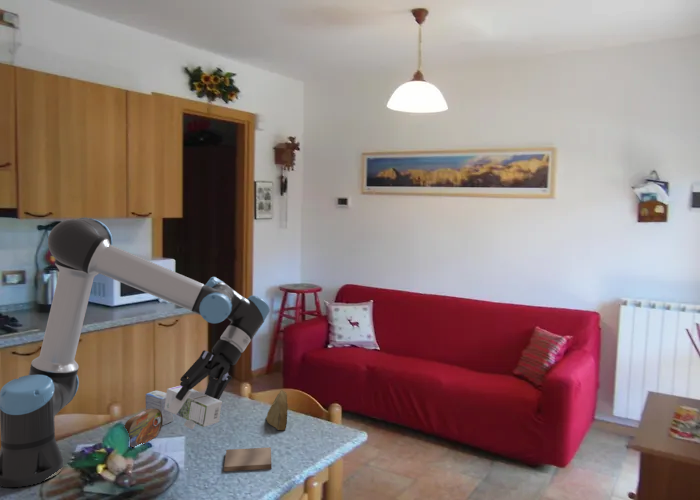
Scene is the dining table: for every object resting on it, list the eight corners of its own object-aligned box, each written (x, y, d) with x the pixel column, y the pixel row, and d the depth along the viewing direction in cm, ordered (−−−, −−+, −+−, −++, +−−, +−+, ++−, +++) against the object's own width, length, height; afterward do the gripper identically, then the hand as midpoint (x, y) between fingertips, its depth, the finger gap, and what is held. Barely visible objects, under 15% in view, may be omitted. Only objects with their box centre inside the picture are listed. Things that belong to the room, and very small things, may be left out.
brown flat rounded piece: (129, 453, 151) (129, 423, 150) (120, 451, 152) (119, 422, 151) (163, 432, 165) (163, 404, 165) (154, 430, 166) (154, 403, 166)
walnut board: (224, 471, 142) (224, 466, 142) (226, 453, 152) (226, 449, 152) (271, 468, 144) (271, 464, 144) (270, 451, 154) (270, 447, 154)
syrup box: (223, 400, 142) (183, 384, 149) (206, 405, 136) (165, 388, 144) (219, 422, 142) (180, 404, 149) (202, 428, 137) (162, 409, 144)
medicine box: (173, 421, 174) (173, 394, 173) (162, 426, 170) (161, 398, 169) (157, 416, 178) (156, 389, 177) (145, 420, 174) (145, 393, 173)
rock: (294, 425, 167) (300, 408, 177) (276, 403, 166) (283, 388, 175) (266, 443, 169) (273, 425, 179) (249, 421, 168) (257, 405, 178)
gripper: (224, 329, 143) (169, 406, 132) (255, 369, 158) (208, 441, 146) (203, 321, 147) (148, 396, 135) (236, 361, 161) (188, 431, 150)
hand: (180, 419), depth 141 cm, fingers closed on syrup box, 8 cm apart
